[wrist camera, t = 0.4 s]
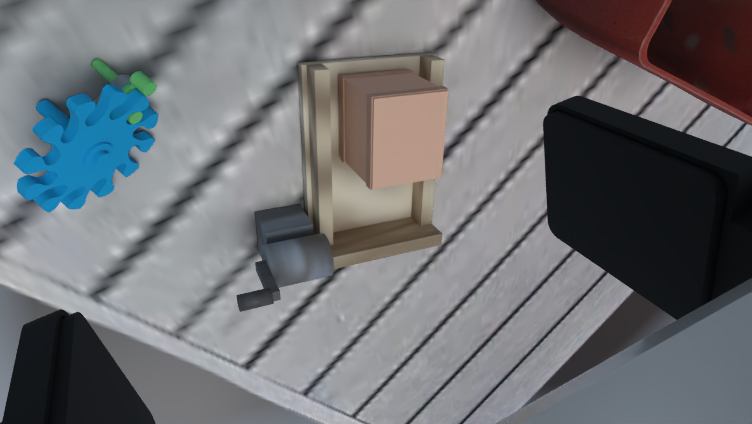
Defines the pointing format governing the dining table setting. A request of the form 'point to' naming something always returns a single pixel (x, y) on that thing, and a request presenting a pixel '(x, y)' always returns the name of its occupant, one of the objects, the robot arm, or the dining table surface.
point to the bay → (340, 192)
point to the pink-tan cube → (392, 127)
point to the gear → (88, 141)
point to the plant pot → (675, 42)
